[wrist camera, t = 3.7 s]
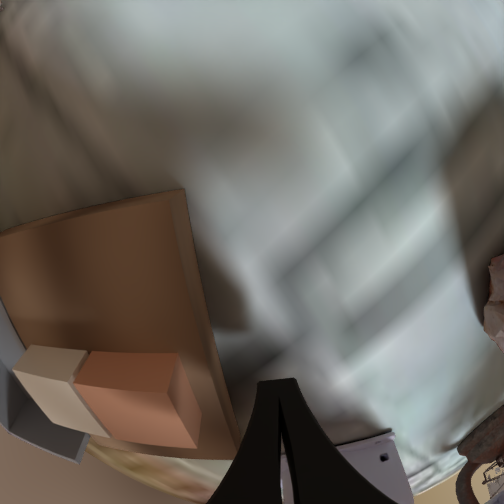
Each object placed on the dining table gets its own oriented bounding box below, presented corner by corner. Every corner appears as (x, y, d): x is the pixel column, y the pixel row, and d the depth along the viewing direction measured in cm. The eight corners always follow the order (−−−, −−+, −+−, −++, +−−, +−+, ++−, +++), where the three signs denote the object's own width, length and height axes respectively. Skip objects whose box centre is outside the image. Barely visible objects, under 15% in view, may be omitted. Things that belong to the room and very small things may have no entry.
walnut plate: (184, 188, 9) (169, 199, 7) (240, 434, 15) (240, 459, 13) (7, 229, 10) (-19, 242, 8) (106, 424, 15) (98, 444, 13)
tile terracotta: (178, 352, 10) (166, 392, 8) (201, 413, 11) (197, 448, 9) (92, 350, 10) (72, 383, 8) (126, 408, 11) (115, 439, 9)
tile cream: (86, 350, 10) (67, 382, 8) (121, 408, 11) (110, 438, 9) (31, 344, 10) (11, 369, 8) (65, 398, 11) (52, 422, 9)
